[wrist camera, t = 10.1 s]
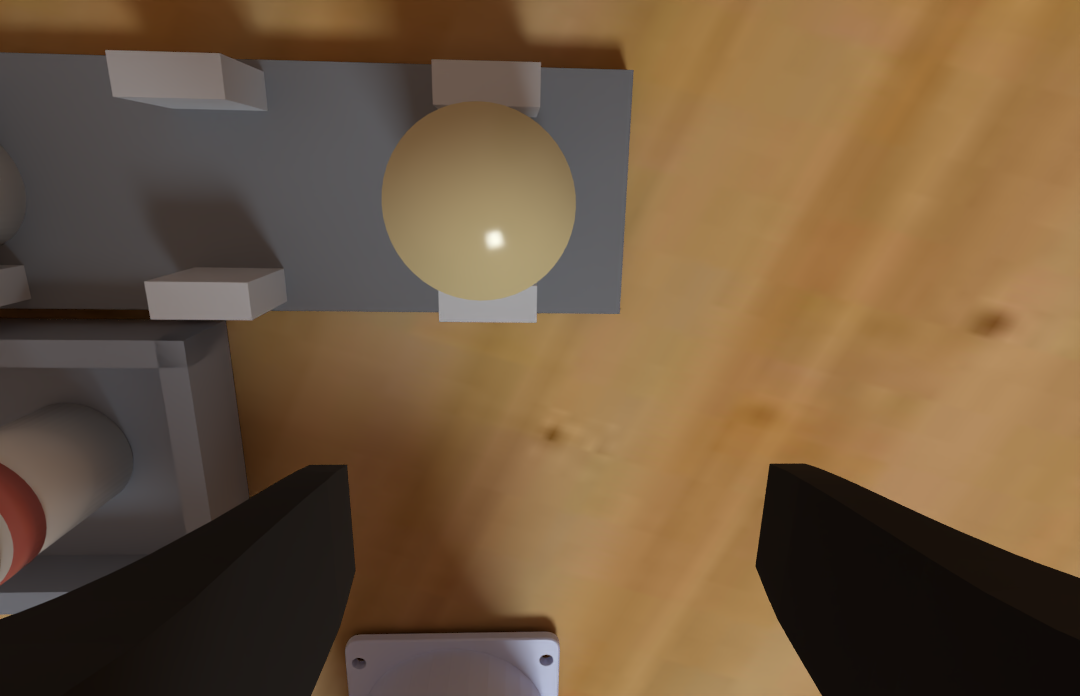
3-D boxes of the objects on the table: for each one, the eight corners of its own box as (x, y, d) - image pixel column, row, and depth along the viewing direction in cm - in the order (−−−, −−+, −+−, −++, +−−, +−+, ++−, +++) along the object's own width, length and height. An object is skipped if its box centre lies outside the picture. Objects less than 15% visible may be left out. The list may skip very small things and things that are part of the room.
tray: (257, 562, 21) (225, 611, 19) (-31, 565, 21) (-102, 615, 18) (225, 319, 19) (183, 340, 16) (-103, 317, 18) (-196, 338, 16)
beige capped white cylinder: (554, 261, 18) (572, 301, 12) (427, 260, 18) (386, 299, 12) (557, 128, 17) (579, 103, 11) (423, 125, 17) (375, 98, 11)
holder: (615, 308, 19) (635, 334, 16) (-125, 301, 18) (-259, 327, 15) (628, 74, 17) (653, 51, 14) (-199, 52, 16) (-372, 21, 13)
